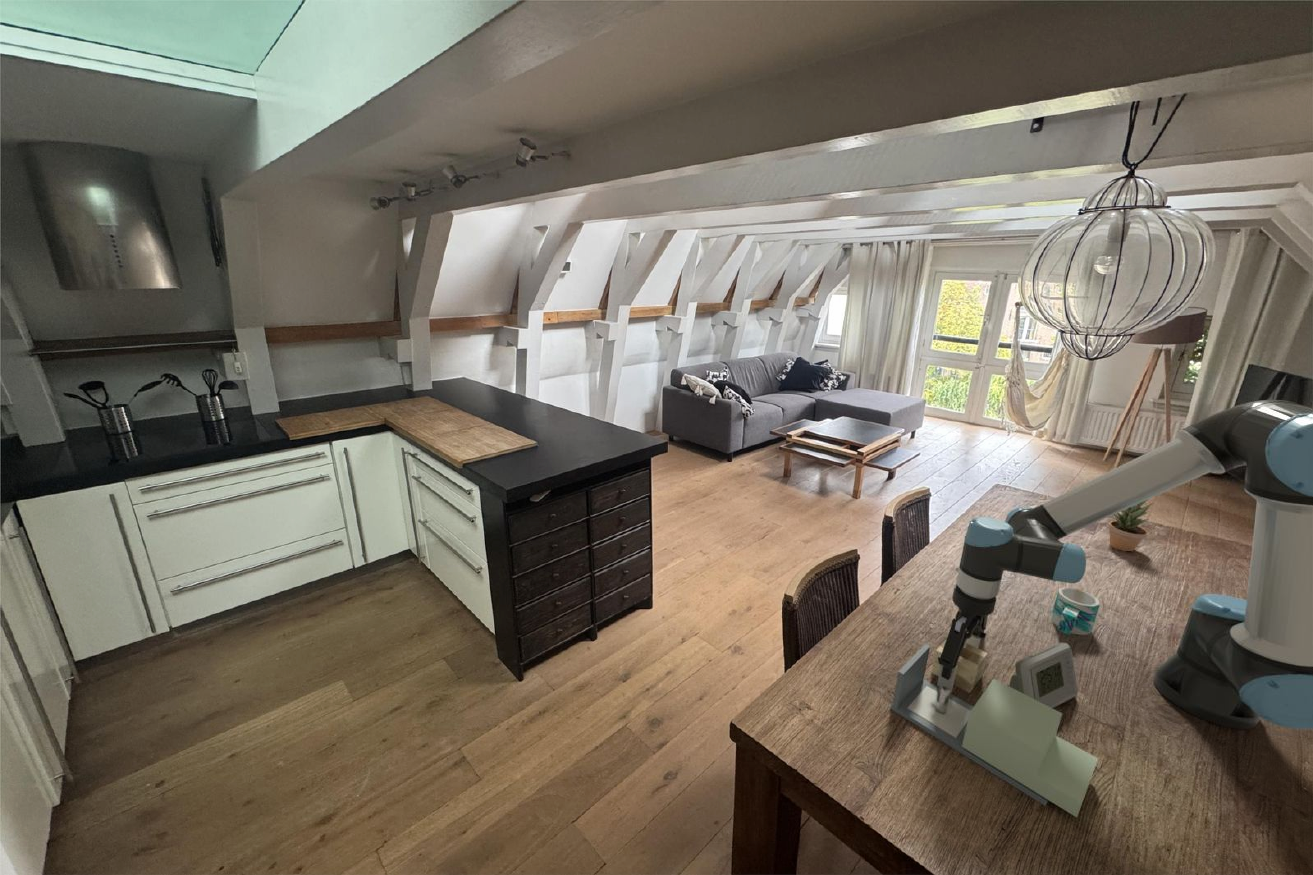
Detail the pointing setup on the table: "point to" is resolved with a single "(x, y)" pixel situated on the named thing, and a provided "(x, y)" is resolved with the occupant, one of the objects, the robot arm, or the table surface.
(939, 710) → the steel pin
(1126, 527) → the potted plant
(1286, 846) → the table surface
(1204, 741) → the table surface
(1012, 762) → the sage cover
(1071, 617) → the mug
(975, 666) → the birch collar
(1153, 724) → the table surface
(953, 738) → the housing base
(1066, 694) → the digital clock
